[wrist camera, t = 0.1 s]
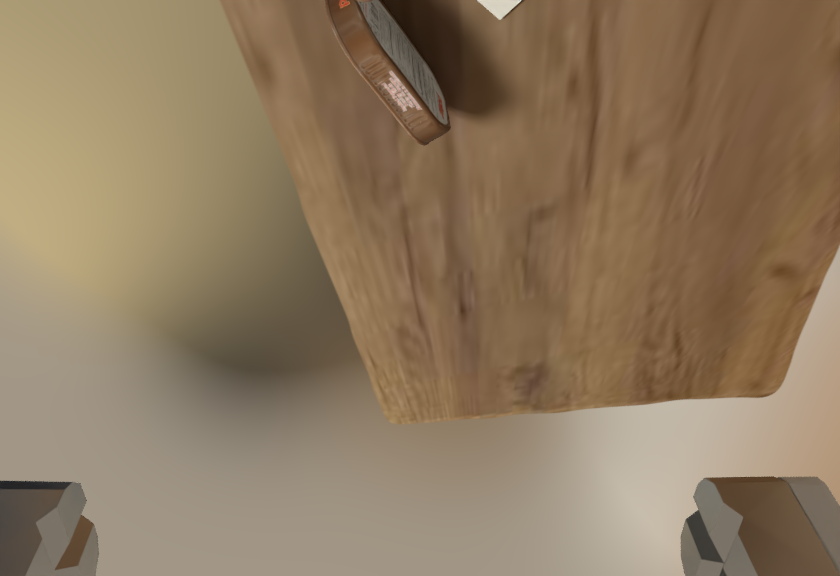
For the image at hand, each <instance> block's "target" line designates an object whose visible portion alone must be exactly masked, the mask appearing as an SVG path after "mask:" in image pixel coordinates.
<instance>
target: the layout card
mask: <svg viewBox="0 0 840 576" xmlns="http://www.w3.org/2000/svg"><path fill="white" fill-rule="evenodd" d="M477 1H479V2H480V3H481V4H482V5H483V6H484V7H485V8H487V9H488V10H489V11H490V12H491V13H492V14H494V15H495V16H496V17H497V18H498V19H499V20H501V19H502V18H503V17H504V16H505V15H506V14H507V13H508V12H509V11H511V10H512V9H513V8H514V7H515V6H516V5H517V4H518V3H519V2H520V1H522V0H477Z"/></svg>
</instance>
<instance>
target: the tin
mask: <svg viewBox="0 0 840 576" xmlns="http://www.w3.org/2000/svg"><path fill="white" fill-rule="evenodd" d="M325 5H326V12H327V15H328V19H329V22H330V24H331V27H332V30H333V32H334V34H335V36H336V38H337V40H338V42H339V44H340V46H341V48H342V49H343V51H344V53H345V54H346V56H347V58H348V59H349V61H350V62H351V64H352V65H353V67H354V68H355V69H356V70H357V72H358V73H359V74H360V75H361V77H362V78H363V79H364V80H365V81H366V83H367V84H368V85H369V86H370V88H371V89H372V90H373V91H374V92H375V94H376V95H377V96H378V97H379V99H380V100H381V101H382V102H383V103H384V105H385V106H386V107H387V108H388V110H389V111H390V112H391V113H392V114H393V116H394V117H395V118H396V119H397V121H398V122H399V123H400V124H401V126H402V127H403V128H404V129H405V131H406V132H407V133H408V134H409V135H410V136H411V138H412V139H414V140H415V141H416V142H417V143H419V144H421V145H427V144H429V142H431V141H432V140H434V139H436V138H438V137H440V136H442V135H443V134H445V133H446V132H448V131H449V130H450V128H451V127H450V121H449V116H448V111H447V103H446V99H445V97H444V94H443V92H442V90H441V87H440V85H439V83H438V81H437V79H436V78H435V76H434V74H433V72H432V71H431V69H430V67H429V66H428V64H427V63H426V61H425V60H424V59H423V57H422V56H421V54H420V53H419V52H418V50H417V49H416V47H415V46H414V44H413V43H412V42H411V40H410V39H409V37H408V36H407V34H406V33H405V32H404V30H403V29H402V28H401V26H400V25H399V23H398V22H397V21H396V19H395V18H394V17H393V15H392V14H391V12H390V11H389V10H388V8H387V7H386V6H385V4H384V3H383V2H382V0H372V1H370V2H359V1H356V0H325Z"/></svg>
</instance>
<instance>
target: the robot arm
mask: <svg viewBox="0 0 840 576" xmlns="http://www.w3.org/2000/svg"><path fill="white" fill-rule="evenodd" d="M694 500H695V502H696V504H697V507H698V509H699V510H697V511H696V512H695V513H693V514H692V515H691V516H689V517H688V518H687V519H686V520H685V524H684V527H683V531H682V534H681V559H682V564H683V569H684V573H685V576H840V506H839V504H838V503H837V501H836V499H835V498H834V496H833V495H832V493H831V491H830V490H829V488H828V487H827V485H826V484H825V483H824V482H823V481H822V480H820V479H819V478H818V477H778V478H776V477H726V478H724V477H722V478H704V479H703V480H702V481H701V482H700V483H699V484H698V486H697V489H696V491H695V494H694ZM86 501H87V500H86V497H85V495H84V492H83V489H82V487H81V484H80V483H75V482H44V481H0V576H95V575H96V568H97V562H98V555H99V551H98V550H99V549H98V536H97V533H96V529H95V526H94V524H93V523H92V522H91V521H89V520H88V519H86V518H85V517H84V516H82V515H81V514H82V511H83V509H84V506H85V504H86Z"/></svg>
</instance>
